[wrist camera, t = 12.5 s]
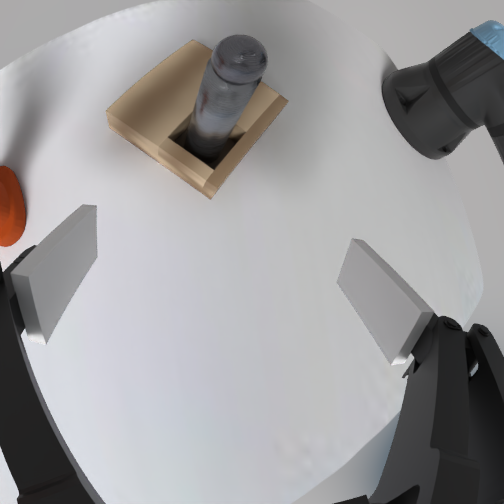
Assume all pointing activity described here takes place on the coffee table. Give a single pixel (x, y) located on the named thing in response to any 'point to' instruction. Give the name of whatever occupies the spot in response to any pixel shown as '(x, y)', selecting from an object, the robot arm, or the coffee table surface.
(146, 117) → the block
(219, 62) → the metal round-headed rod
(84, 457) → the coffee table surface
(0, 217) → the toy drill
